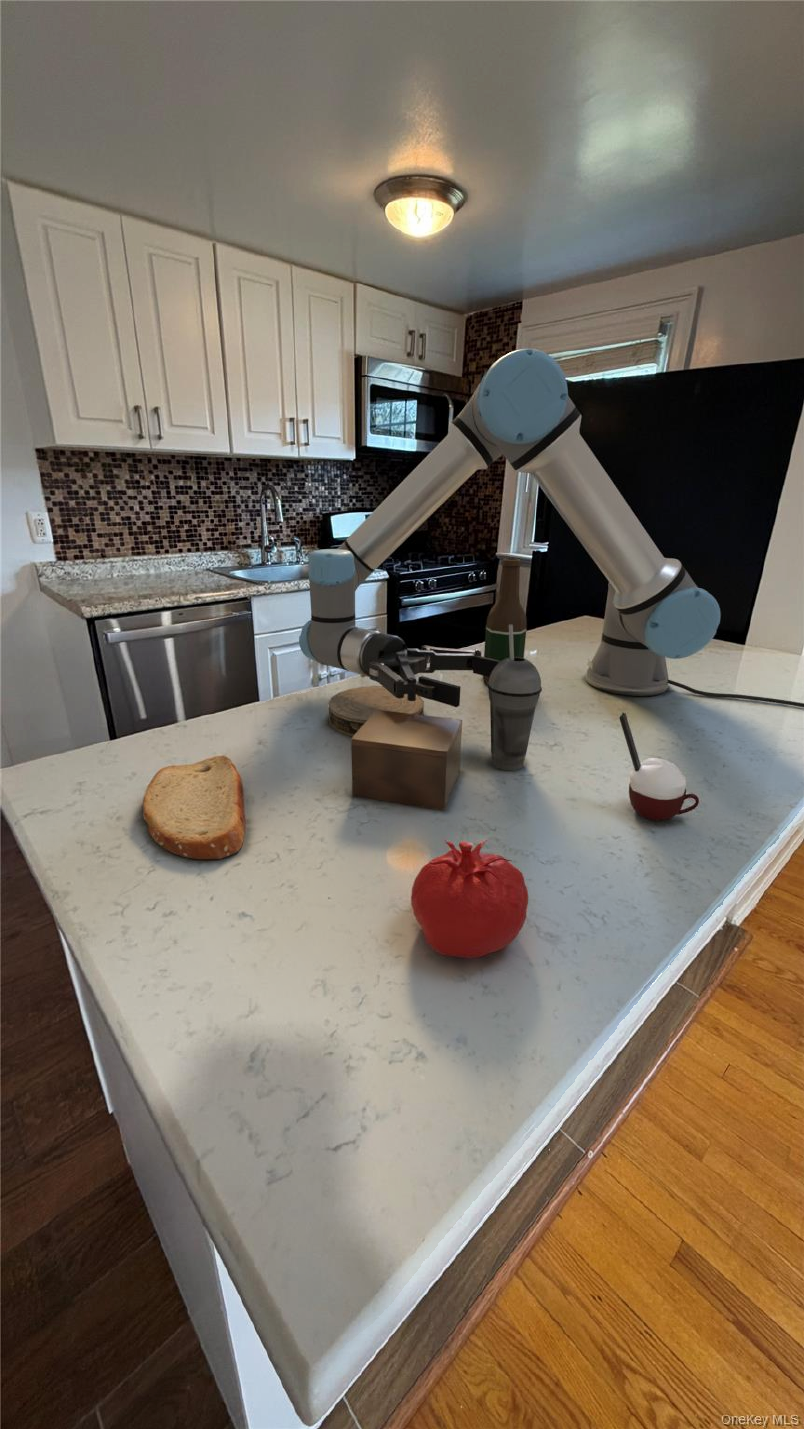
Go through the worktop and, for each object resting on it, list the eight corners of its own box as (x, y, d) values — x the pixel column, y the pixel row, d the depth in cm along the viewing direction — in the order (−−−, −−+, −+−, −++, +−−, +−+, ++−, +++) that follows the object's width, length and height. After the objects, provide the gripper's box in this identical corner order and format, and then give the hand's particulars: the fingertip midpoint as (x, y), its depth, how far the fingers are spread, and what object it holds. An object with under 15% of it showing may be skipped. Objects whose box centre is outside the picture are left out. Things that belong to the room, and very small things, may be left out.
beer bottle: (481, 686, 111) (490, 560, 102) (483, 673, 118) (491, 555, 109) (521, 688, 110) (534, 562, 101) (520, 676, 117) (532, 556, 108)
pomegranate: (537, 971, 46) (550, 879, 43) (416, 978, 46) (418, 884, 42) (507, 890, 56) (515, 809, 52) (405, 895, 55) (407, 812, 51)
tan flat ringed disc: (390, 746, 85) (390, 728, 84) (309, 724, 93) (308, 707, 92) (440, 713, 98) (441, 697, 97) (365, 695, 106) (364, 680, 104)
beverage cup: (533, 777, 77) (549, 633, 69) (479, 772, 78) (490, 630, 71) (533, 754, 83) (548, 620, 76) (483, 749, 85) (493, 617, 77)
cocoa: (699, 820, 68) (722, 728, 63) (672, 838, 64) (694, 742, 59) (628, 788, 74) (643, 703, 70) (599, 803, 71) (614, 714, 66)
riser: (459, 773, 78) (462, 719, 75) (444, 810, 69) (447, 751, 66) (376, 761, 81) (376, 709, 78) (352, 795, 72) (350, 738, 69)
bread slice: (221, 868, 58) (217, 838, 57) (88, 832, 64) (81, 804, 62) (307, 787, 74) (305, 761, 72) (193, 764, 80) (190, 740, 78)
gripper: (422, 660, 102) (527, 687, 89) (318, 697, 85) (431, 736, 72) (423, 619, 99) (532, 640, 87) (316, 648, 82) (433, 680, 69)
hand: (486, 684), depth 79 cm, fingers open, 13 cm apart
